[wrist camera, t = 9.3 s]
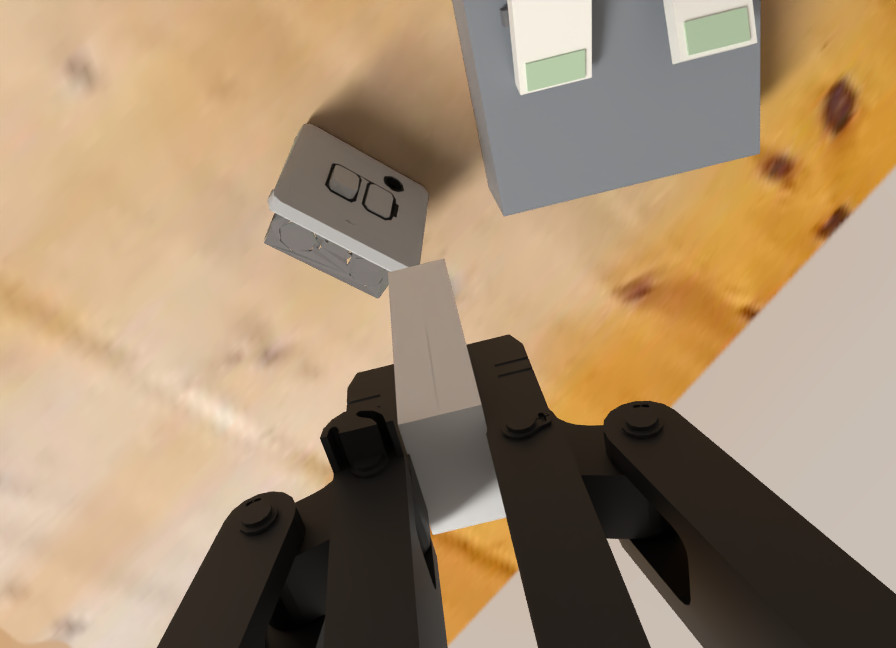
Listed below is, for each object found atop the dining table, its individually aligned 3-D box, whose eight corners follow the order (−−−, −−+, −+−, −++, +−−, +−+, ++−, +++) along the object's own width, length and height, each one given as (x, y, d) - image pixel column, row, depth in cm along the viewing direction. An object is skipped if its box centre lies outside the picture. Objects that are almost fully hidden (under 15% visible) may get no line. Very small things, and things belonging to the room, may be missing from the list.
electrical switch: (430, 188, 47) (435, 249, 39) (393, 247, 49) (390, 316, 41) (305, 117, 44) (283, 168, 36) (271, 183, 46) (244, 245, 38)
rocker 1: (500, -69, 32) (506, -58, 31) (583, -89, 32) (592, -79, 31) (515, 83, 38) (521, 96, 37) (585, 66, 38) (592, 78, 37)
